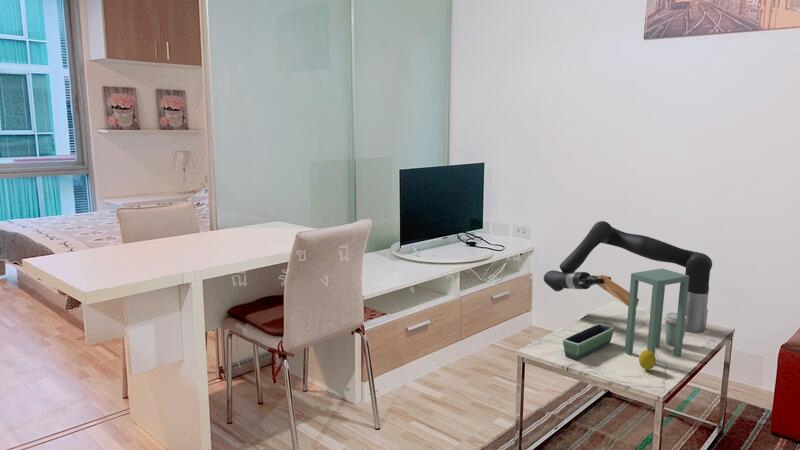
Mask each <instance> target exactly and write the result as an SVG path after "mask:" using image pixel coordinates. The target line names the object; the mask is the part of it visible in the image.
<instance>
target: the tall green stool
mask: <svg viewBox="0 0 800 450" xmlns="http://www.w3.org/2000/svg"><path fill="white" fill-rule="evenodd" d="M640 282H641V283H645V284H649V285H650V286H651V285H652V289H651V300H650V311H649V324H648V336H647V343H646V344H647V346H646V350H647V349H649V350H650V351H652V352H653V353H654V354H655V355H656V349H658V348H660V346H661V345H660V344H661V343H660V342H661V334H662V333H661V332H662V322H663V314H664V313H663V312H664V302H665V292H666V291H665V290H666V286H667V285H668V286H669V285H673V284H674V285H675V284H679V292H678V293H679V294H678V304H677V312H676V313H677V322H676V332H675V342H674V346H673V352H672V355H673V357H675V358H681V357H682V354H683V353H682V352H683V344H684V342H683V341H684V338H683V334H684V335H685V333H684V324H685V314H686V304H687V294H688V284H689V276H688V275H685V273H684V274H683V273H680V272H676V271H673V270H669V269H665V268H657V269H650V270H644V271H637V272H632V273H631V274H630V285H629V293H630V295H629V307H628V306H627V308H628V309H627V321H626V330H625V331H626V332H625V333H626V334H625V343H624V344H625V345H624V354H626V355H633V352H634V351H633V350H634V341H635V330H636V317H637V307H638V305H637V298H638V293H639V283H640Z"/></svg>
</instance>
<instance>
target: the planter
mask: <svg viewBox="0 0 800 450" xmlns="http://www.w3.org/2000/svg"><path fill="white" fill-rule="evenodd" d="M614 331H615V327H614V326H610V325H607V324H603V323H596V324H594V325H591V326H590V327H586V328H585V329H583V330H581V331H578V332H576V333H574V334H572V335H569V336H567V337H565V338H562V345H563V350H564V356H565V357H566V358H568V357H569V358H568V359H571V358H572V359H571V360H574V361H579V360H582V359H583V358H585V357H587V356H589V355H591V354H593V353H594V352H595V353H596V352H598V351H599V350H601V349H603V348H605V347H607V346H609V345H610V344H611V341H612V338H613V335H614Z"/></svg>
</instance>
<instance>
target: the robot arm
mask: <svg viewBox="0 0 800 450" xmlns="http://www.w3.org/2000/svg"><path fill="white" fill-rule="evenodd" d="M600 244H604V245H610V246H614V247H617V248H621V249H622V250H623V249H624V250H626V251H627V252H629V253H632V254H634V255H637V256H640V257H642V258H646V259H648V260H651V261H656V262H661V263H669V264H670V263H671V264H674V265H677V266H681V267H683V268H685V273H684V275H688V276H689V284H688V294H687V304H686V314H685V316H686V317H687V320H688V323H687V325H686V329H685V332H689V333H695V334H696V333H699V334H700V333H704V332H705V331H706V330H707V321H708V313H709V309H708V301H709V292H710V291H709V290H710V274H711V270H712V269H713V268H712V267H713V261H712V258H710V257H709V256H708V255H707V254H705V253H703V252H698V251H693V250H689V249H684V248H681V247H678V246H676V245H672V244H670V243H667V242H665V241H662V240H659V239H656V238H653V237H650V236H648V235H642V234H635V233H628V232H625V231H622V230H619V229H617V228H615V227H613V226H612V225H611V224H610V223H609V222H607V221H605V220H604V221H603V220H601V221H597V222H595V223H594V225H592V227H591V228H590V230H589V231H588V233H587V235H586V236H585V237H584V238H583V239H582V241H581V242H580V243H579V244H578V245H577V246H576V247H575V248H574V250H573V251H572V252H571V253H570V254H568V256H567V257H565V259H564V260H563V261H562V262H561V263H560V264H559V268H560V271H559V270H554V269H553V270H548V271H547V272H546V273H545V274H544V275H543V281H544V283H545V284H546V285H547V286H548V287H549V288H551V289H552V290H553V291H554V292H560V291H561V292H562V291H563V290H564V289H567V290H568V289H569V290H570V289H573V290H588V289H590V288H591V287H592V286H594V285H595V286H596V285H597V284H604V279H603V278H597V276H598V275H593V274H590V273H589V272H587V271H577V270H578V269H579V268H580V267H581V266H582V264H583V263H584V262H585V261H586V259H587V258H588V256H589V255H590V254H591V253H592V251H593V250H594V249H595V248H596V247H597V246H598V245H600ZM605 276H606V277H607V278H609V279H610V280H612V277H611V276H608V275H605Z"/></svg>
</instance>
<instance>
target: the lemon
mask: <svg viewBox="0 0 800 450" xmlns="http://www.w3.org/2000/svg"><path fill="white" fill-rule="evenodd" d="M638 362H639V365H640V366H641V368H642V369H644V371H648V370H652V369H653V368H654V367H655V365H656V362H657V360H656V353H655V354H654V353H653V352H652V351H650V350H649V349H647V348H646V349H644V350H642V351H641V352H640V354H639V357H638Z"/></svg>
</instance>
